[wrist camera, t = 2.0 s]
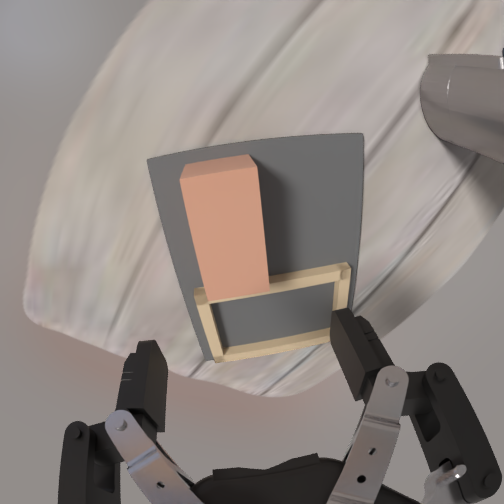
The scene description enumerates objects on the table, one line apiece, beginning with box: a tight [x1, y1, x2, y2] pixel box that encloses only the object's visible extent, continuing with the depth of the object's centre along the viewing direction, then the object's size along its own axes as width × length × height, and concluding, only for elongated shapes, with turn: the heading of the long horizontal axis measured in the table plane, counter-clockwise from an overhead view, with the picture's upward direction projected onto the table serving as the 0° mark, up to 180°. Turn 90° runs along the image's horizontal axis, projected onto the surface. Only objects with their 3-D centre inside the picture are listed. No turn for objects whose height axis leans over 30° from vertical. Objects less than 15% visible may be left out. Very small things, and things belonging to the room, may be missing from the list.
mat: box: [147, 133, 363, 363], centre depth 27 cm, size 24×18×2 cm
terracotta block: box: [179, 154, 270, 301], centre depth 22 cm, size 10×5×4 cm, turn 7°
